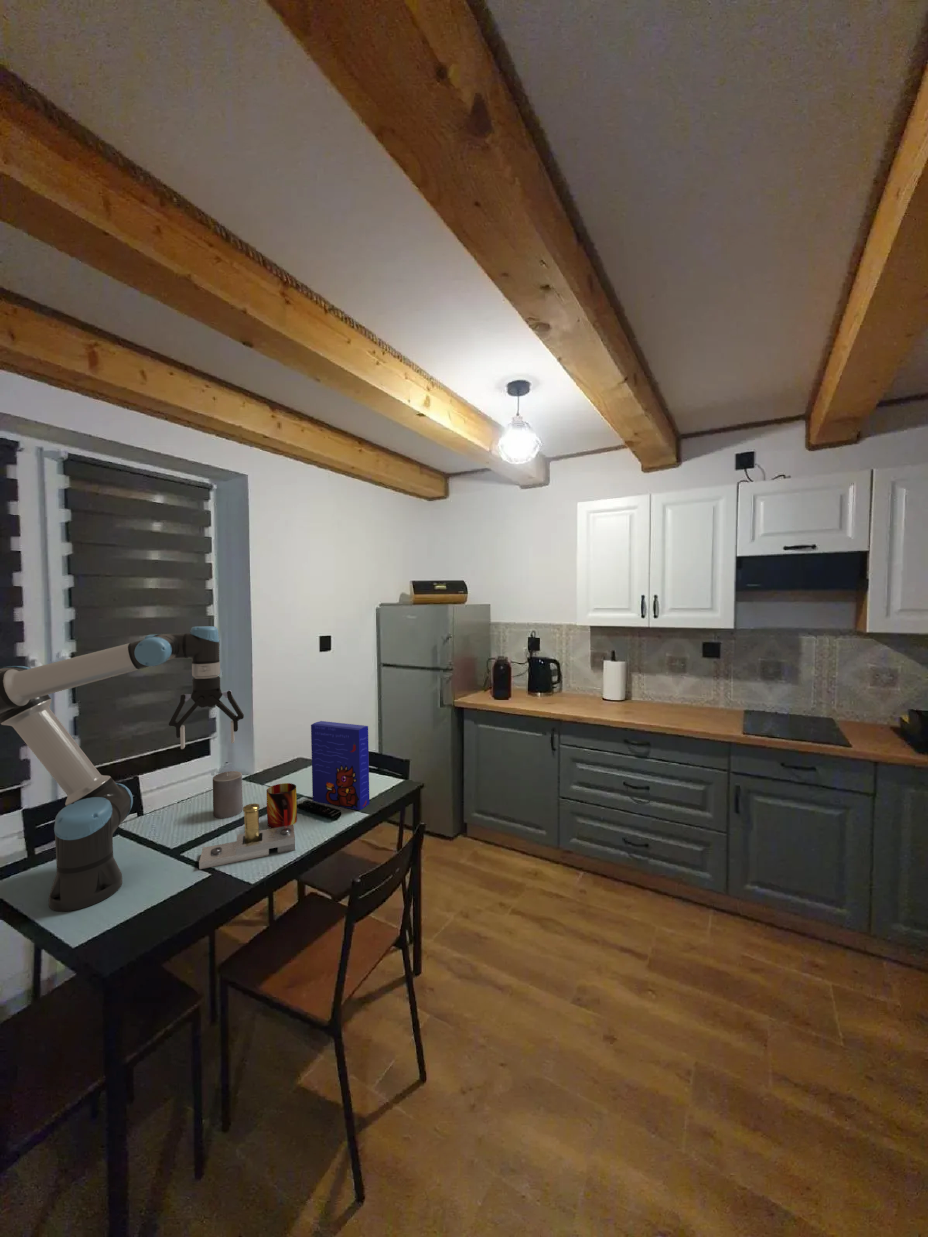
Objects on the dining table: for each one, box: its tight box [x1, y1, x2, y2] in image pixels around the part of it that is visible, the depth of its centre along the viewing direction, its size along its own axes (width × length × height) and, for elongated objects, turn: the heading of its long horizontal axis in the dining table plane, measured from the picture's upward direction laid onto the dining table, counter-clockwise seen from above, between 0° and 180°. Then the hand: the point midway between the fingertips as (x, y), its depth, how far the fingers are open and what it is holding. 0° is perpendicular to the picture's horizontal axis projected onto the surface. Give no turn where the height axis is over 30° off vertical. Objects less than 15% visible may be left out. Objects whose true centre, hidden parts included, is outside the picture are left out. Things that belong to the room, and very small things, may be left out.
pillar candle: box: [212, 770, 244, 819], centre depth 171 cm, size 10×10×15 cm
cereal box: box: [310, 720, 371, 811], centre depth 178 cm, size 22×6×30 cm, turn 68°
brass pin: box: [242, 803, 261, 844], centre depth 144 cm, size 5×5×14 cm
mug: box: [266, 782, 298, 829], centre depth 162 cm, size 10×14×12 cm
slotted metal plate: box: [198, 825, 296, 870], centre depth 144 cm, size 26×9×5 cm, turn 113°
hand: (208, 745), depth 145 cm, fingers open, 13 cm apart
